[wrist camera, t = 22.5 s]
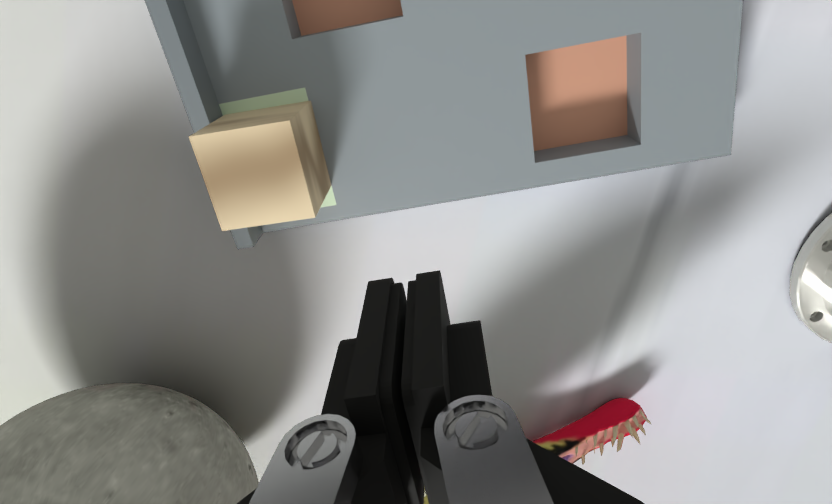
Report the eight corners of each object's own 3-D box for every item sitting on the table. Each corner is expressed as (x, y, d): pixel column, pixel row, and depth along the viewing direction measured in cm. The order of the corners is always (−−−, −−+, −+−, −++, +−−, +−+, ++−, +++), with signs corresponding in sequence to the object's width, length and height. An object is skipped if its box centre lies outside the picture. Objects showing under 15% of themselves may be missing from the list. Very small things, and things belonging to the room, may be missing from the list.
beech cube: (331, 185, 31) (315, 217, 27) (250, 197, 32) (221, 231, 27) (310, 100, 29) (289, 120, 25) (224, 114, 30) (188, 136, 25)
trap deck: (709, 143, 32) (749, 165, 28) (259, 219, 35) (237, 249, 31) (732, -232, 25) (791, -276, 21) (151, -95, 27) (103, -110, 23)
